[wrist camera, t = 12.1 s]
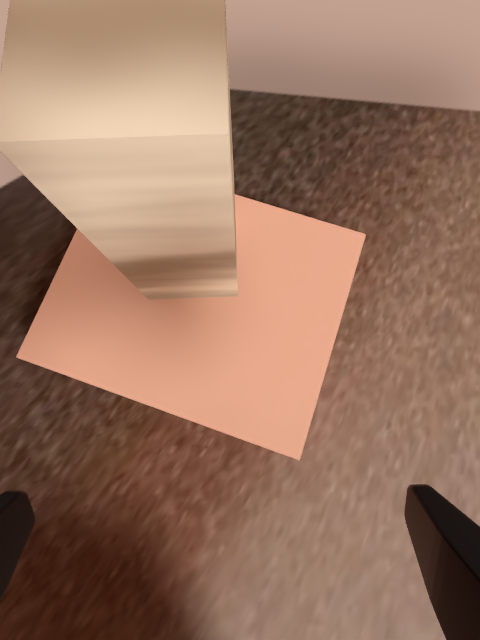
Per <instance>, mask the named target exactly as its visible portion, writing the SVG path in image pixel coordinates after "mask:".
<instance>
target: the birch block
mask: <svg viewBox="0 0 480 640" xmlns="http://www.w3.org/2000/svg"><path fill="white" fill-rule="evenodd" d="M0 151H1V153H2V154H3V155H4V156H5V157H6V158H7V159H8V160H9V161H10V162H11V163H12V164H13V165H14V166H15V167H16V168H17V169H18V170H19V171H20V172H21V173H22V174H23V175H24V176H25V177H26V178H27V179H28V180H29V181H30V182H31V183H32V184H33V185H34V186H35V187H36V188H37V189H38V190H39V191H40V192H41V193H42V194H43V195H44V196H45V197H46V198H47V199H48V200H49V201H50V202H51V203H52V204H53V205H54V206H55V207H56V208H57V209H58V210H59V211H60V212H61V213H62V214H63V215H64V216H65V217H66V218H67V219H68V220H69V221H70V222H71V223H72V224H73V225H74V226H75V227H76V228H77V229H78V230H79V231H80V232H81V233H82V234H83V235H84V236H85V237H86V238H87V239H88V240H89V241H90V242H91V243H92V244H93V245H94V246H95V247H96V248H97V249H98V250H99V251H100V252H101V253H102V254H103V255H104V256H105V257H106V258H107V259H108V260H109V261H110V262H111V263H112V264H113V265H114V266H115V267H116V268H117V269H118V270H119V271H120V272H121V273H122V274H123V275H124V276H125V277H126V278H127V279H128V280H129V281H130V282H131V283H132V284H133V285H134V286H135V287H136V288H137V289H138V290H139V291H140V292H141V293H142V294H143V295H144V296H145V297H146V298H147V299H148V300H153V299H181V298H209V297H238V276H237V246H236V216H235V195H234V174H233V153H232V132H231V111H230V90H229V70H228V48H227V27H226V6H225V0H10V4H9V10H8V18H7V26H6V33H5V41H4V49H3V56H2V64H1V71H0Z"/></svg>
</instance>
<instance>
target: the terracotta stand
mask: <svg viewBox="0 0 480 640" xmlns="http://www.w3.org/2000/svg"><path fill="white" fill-rule="evenodd" d="M234 195H235V216H236V246H237V276H238V297H209V298H181V299H153V300H148V299H147V298H146V297H145V296H144V295H143V294H142V293H141V292H140V291H139V290H138V289H137V288H136V287H135V286H134V285H133V284H132V283H131V282H130V281H129V280H128V279H127V278H126V277H125V276H124V275H123V274H122V273H121V272H120V271H119V270H118V269H117V268H116V267H115V266H114V265H113V264H112V263H111V262H110V261H109V260H108V259H107V258H106V257H105V256H104V255H103V254H102V253H101V252H100V251H99V250H98V249H97V248H96V247H95V246H94V245H93V244H92V243H91V242H90V241H89V240H88V239H87V238H86V237H85V236H84V235H83V234H82V233H81V232H80V231H79V230H78V229H77V230H76V232H75V234H74V237H73V239H72V241H71V243H70V245H69V247H68V249H67V251H66V253H65V256H64V258H63V260H62V262H61V264H60V266H59V268H58V270H57V272H56V274H55V277H54V279H53V281H52V283H51V285H50V287H49V289H48V291H47V293H46V295H45V298H44V300H43V302H42V304H41V306H40V308H39V310H38V312H37V314H36V316H35V319H34V321H33V323H32V325H31V327H30V329H29V331H28V333H27V335H26V337H25V340H24V342H23V344H22V346H21V348H20V350H19V352H18V354H17V356H16V357H17V358H20V359H22V360H25V361H28V362H31V363H33V364H36V365H39V366H42V367H44V368H47V369H50V370H53V371H55V372H58V373H61V374H64V375H66V376H69V377H72V378H75V379H77V380H80V381H83V382H86V383H88V384H91V385H94V386H97V387H99V388H102V389H105V390H108V391H110V392H113V393H116V394H119V395H121V396H124V397H127V398H130V399H132V400H135V401H138V402H141V403H143V404H146V405H149V406H152V407H154V408H157V409H160V410H163V411H165V412H168V413H171V414H173V415H176V416H179V417H182V418H184V419H187V420H190V421H193V422H195V423H198V424H201V425H204V426H206V427H209V428H212V429H215V430H217V431H220V432H223V433H226V434H228V435H231V436H234V437H237V438H239V439H242V440H245V441H248V442H250V443H253V444H256V445H259V446H261V447H264V448H267V449H270V450H272V451H275V452H278V453H281V454H283V455H286V456H289V457H292V458H294V459H297V460H300V457H301V454H302V450H303V447H304V444H305V440H306V437H307V433H308V430H309V427H310V423H311V420H312V416H313V413H314V409H315V406H316V403H317V399H318V396H319V392H320V389H321V386H322V382H323V379H324V375H325V372H326V369H327V365H328V362H329V358H330V355H331V352H332V348H333V345H334V341H335V338H336V335H337V331H338V328H339V324H340V321H341V318H342V314H343V311H344V307H345V304H346V301H347V297H348V294H349V290H350V287H351V283H352V280H353V277H354V273H355V270H356V266H357V263H358V260H359V256H360V253H361V249H362V246H363V243H364V239H365V236H366V234H363V233H360V232H356V231H353V230H350V229H346V228H343V227H340V226H337V225H333V224H330V223H327V222H324V221H320V220H317V219H314V218H311V217H307V216H304V215H301V214H298V213H294V212H291V211H288V210H285V209H281V208H278V207H275V206H271V205H268V204H265V203H262V202H258V201H255V200H252V199H249V198H245V197H242V196H239V195H236V194H234Z"/></svg>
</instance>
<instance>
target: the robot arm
mask: <svg viewBox="0 0 480 640" xmlns="http://www.w3.org/2000/svg"><path fill="white" fill-rule="evenodd" d="M405 520H406V524H407V528H408V531H409V534H410V537H411V541H412V544H413V547H414V550H415V553H416V557H417V560H418V563H419V566H420V569H421V573H422V576H423V579H424V582H425V586H426V589H427V592H428V595H429V598H430V601H431V603H432V606H433V608H434V611H435V613H436V616H437V618H438V621H439V623H440V626H441V628H442V630H443V633H444V635H445V638H446V640H480V526H478V525H477V524H476V523H475V522H473V521H472V520H471V519H470V518H469V517H467V516H466V515H465V514H464V513H462V512H461V511H460V510H459V509H458V508H456V507H455V506H454V505H453V504H451V503H450V502H449V501H448V500H447V499H445V498H444V497H443V496H442V495H441V494H439V493H438V492H437V491H436V490H434V489H433V488H432V487H431V486H429V485H426V484H416V485H409V487H408V489H407V496H406V504H405ZM34 521H35V515H34V512H33V509H32V506H31V503H30V501H29V498H28V495H27V493H26V492H25V491H22V490H21V491H6V492H4V493H3V494H1V495H0V601H1V599H2V597H3V595H4V593H5V591H6V589H7V586H8V584H9V582H10V580H11V577H12V575H13V573H14V570H15V568H16V566H17V563H18V561H19V559H20V556H21V554H22V552H23V549H24V547H25V545H26V542H27V540H28V538H29V535H30V533H31V531H32V528H33V526H34Z"/></svg>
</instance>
